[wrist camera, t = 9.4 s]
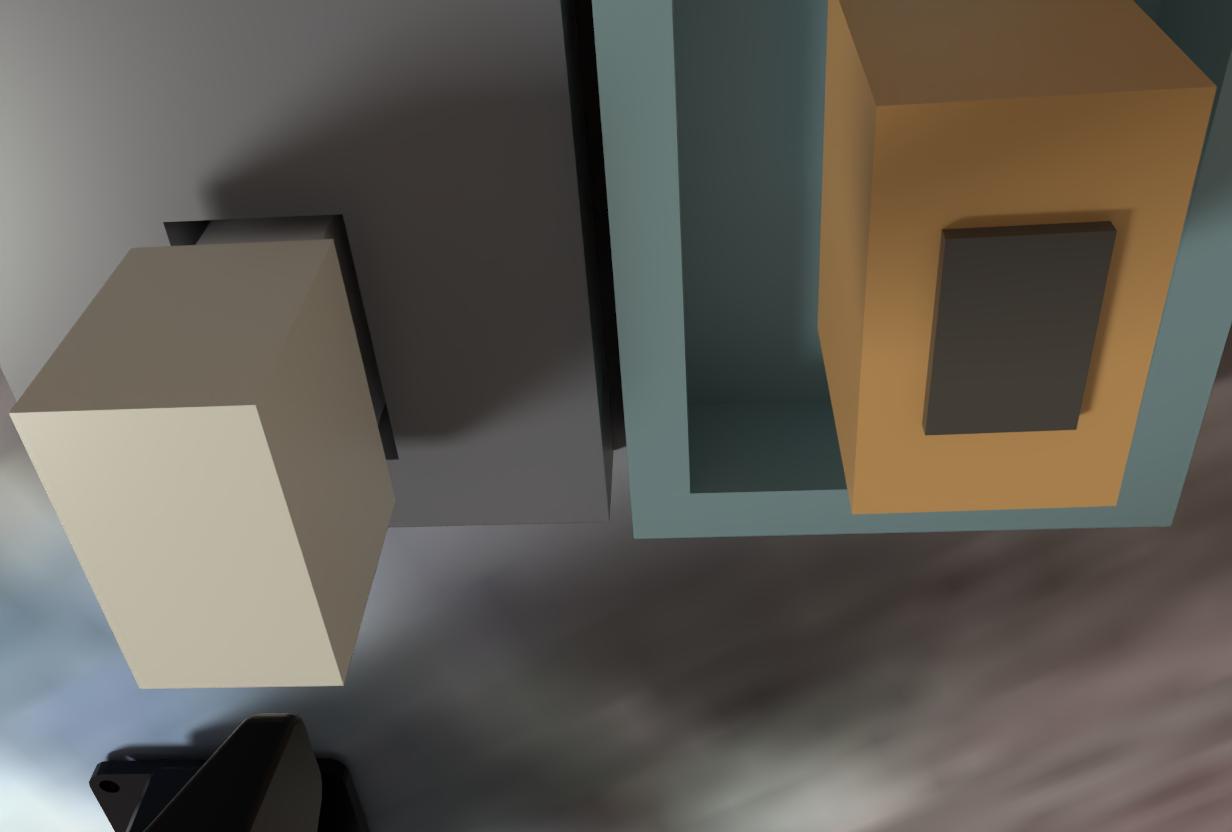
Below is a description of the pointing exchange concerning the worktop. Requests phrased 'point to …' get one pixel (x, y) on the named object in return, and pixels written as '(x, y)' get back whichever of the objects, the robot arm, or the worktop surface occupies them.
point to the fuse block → (338, 208)
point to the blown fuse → (998, 243)
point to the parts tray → (789, 277)
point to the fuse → (222, 454)
